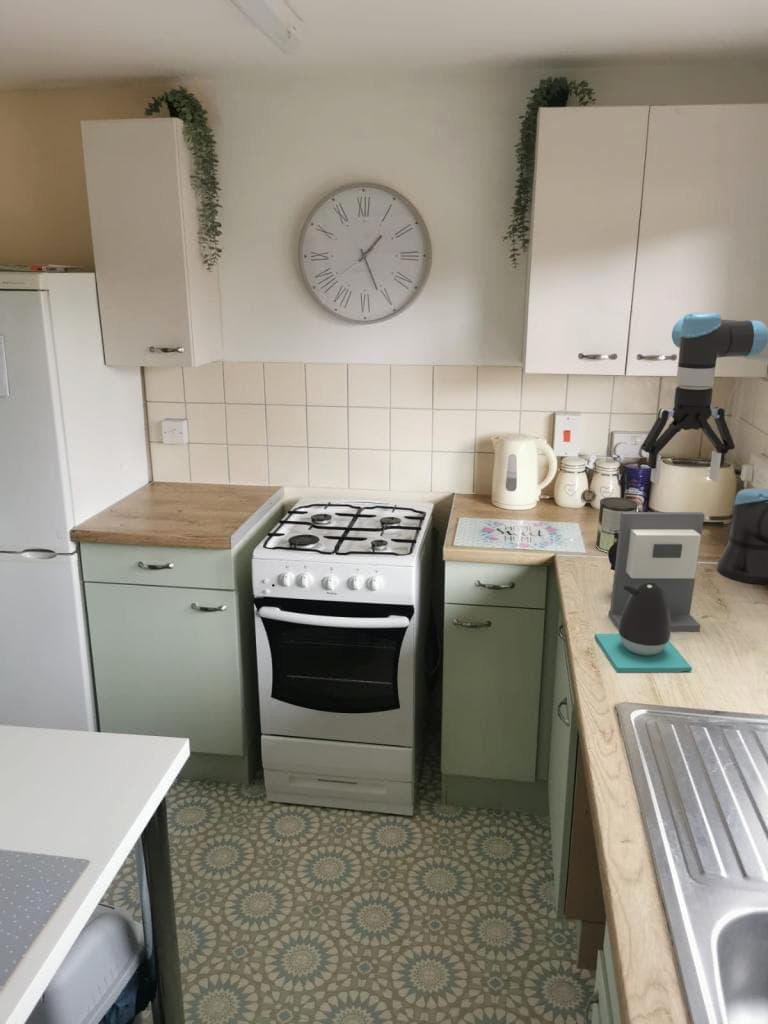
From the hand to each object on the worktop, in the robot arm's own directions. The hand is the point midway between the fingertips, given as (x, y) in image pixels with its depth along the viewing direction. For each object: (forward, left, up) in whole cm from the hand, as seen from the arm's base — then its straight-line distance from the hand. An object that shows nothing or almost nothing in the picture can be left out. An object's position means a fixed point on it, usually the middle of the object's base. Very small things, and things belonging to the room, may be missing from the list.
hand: (684, 481), depth 171 cm
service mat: (+14, +22, -31) cm, 41 cm away
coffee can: (-1, -42, -32) cm, 52 cm away
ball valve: (+3, -10, -32) cm, 33 cm away
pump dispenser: (+14, +22, -31) cm, 40 cm away
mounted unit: (+6, +7, -31) cm, 33 cm away
